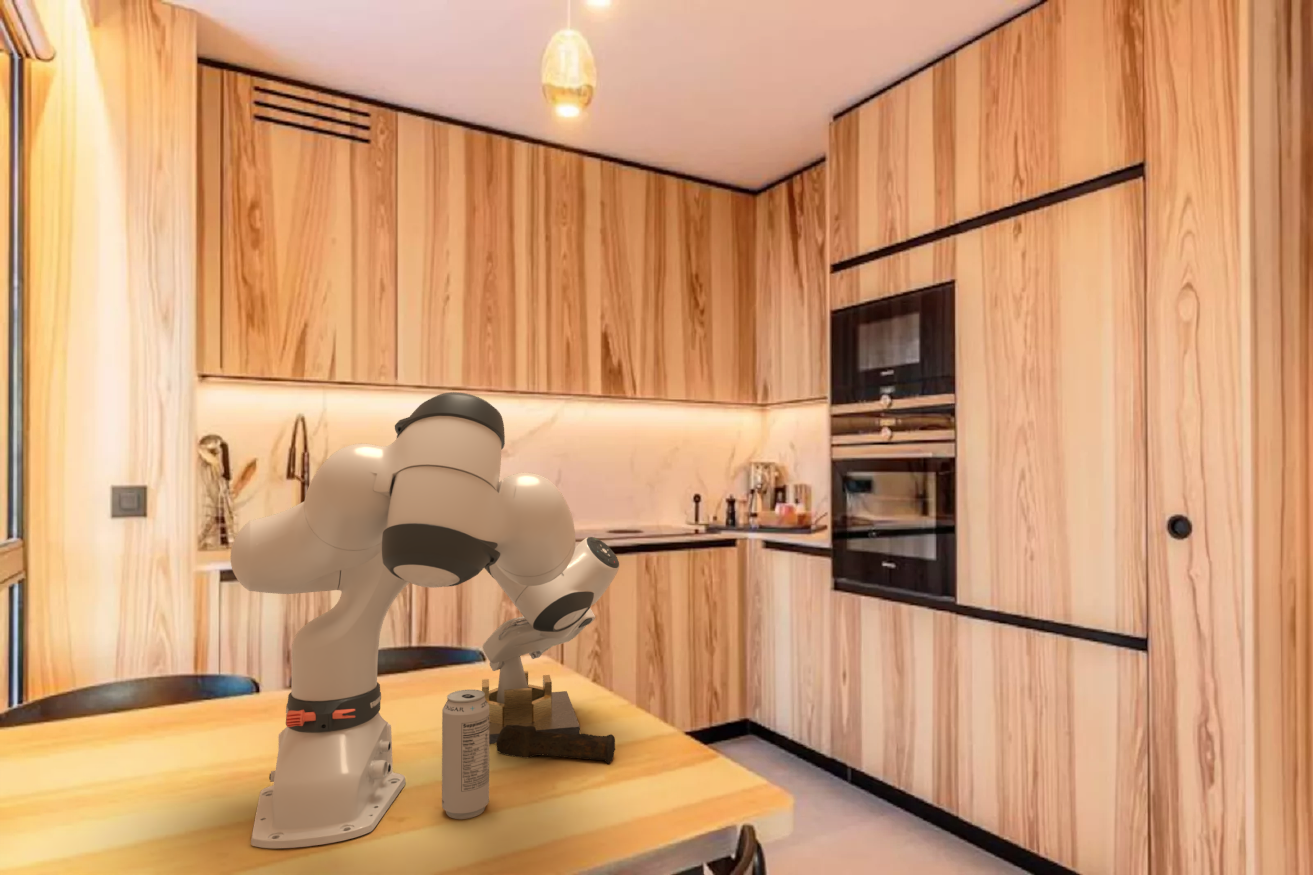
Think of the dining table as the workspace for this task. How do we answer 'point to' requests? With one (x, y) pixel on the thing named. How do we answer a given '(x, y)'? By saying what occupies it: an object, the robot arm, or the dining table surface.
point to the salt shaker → (511, 677)
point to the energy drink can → (465, 754)
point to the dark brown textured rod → (554, 744)
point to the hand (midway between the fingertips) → (514, 661)
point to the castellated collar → (531, 709)
